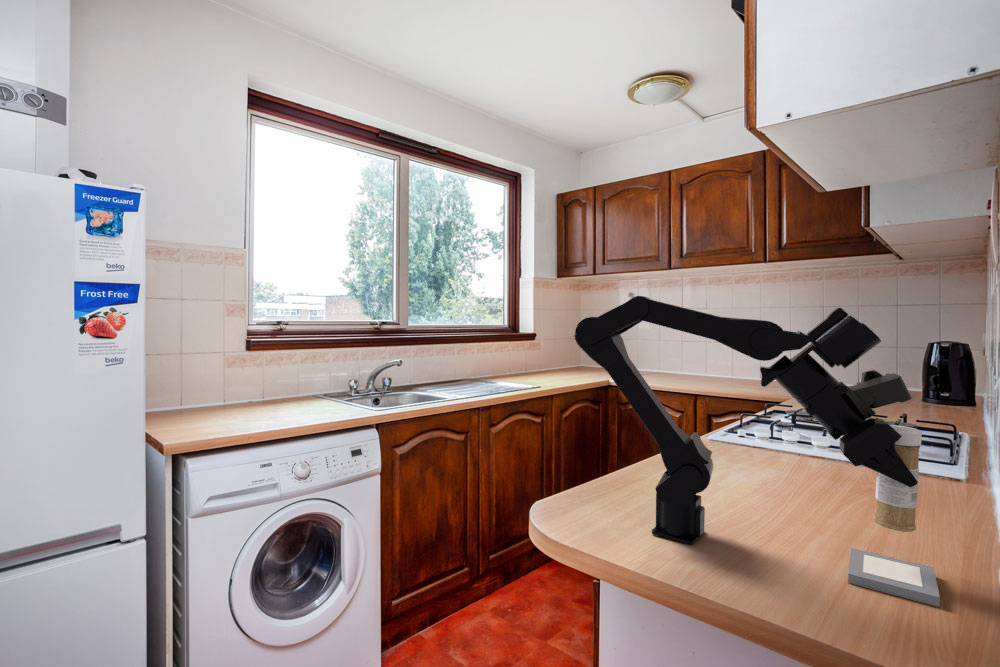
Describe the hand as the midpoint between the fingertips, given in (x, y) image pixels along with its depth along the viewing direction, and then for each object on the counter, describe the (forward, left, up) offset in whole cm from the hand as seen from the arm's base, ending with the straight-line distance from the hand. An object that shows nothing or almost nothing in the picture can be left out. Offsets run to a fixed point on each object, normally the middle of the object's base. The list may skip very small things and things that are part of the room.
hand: (909, 479), depth 66 cm
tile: (-2, -2, -13) cm, 13 cm away
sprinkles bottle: (-1, 0, -7) cm, 7 cm away
